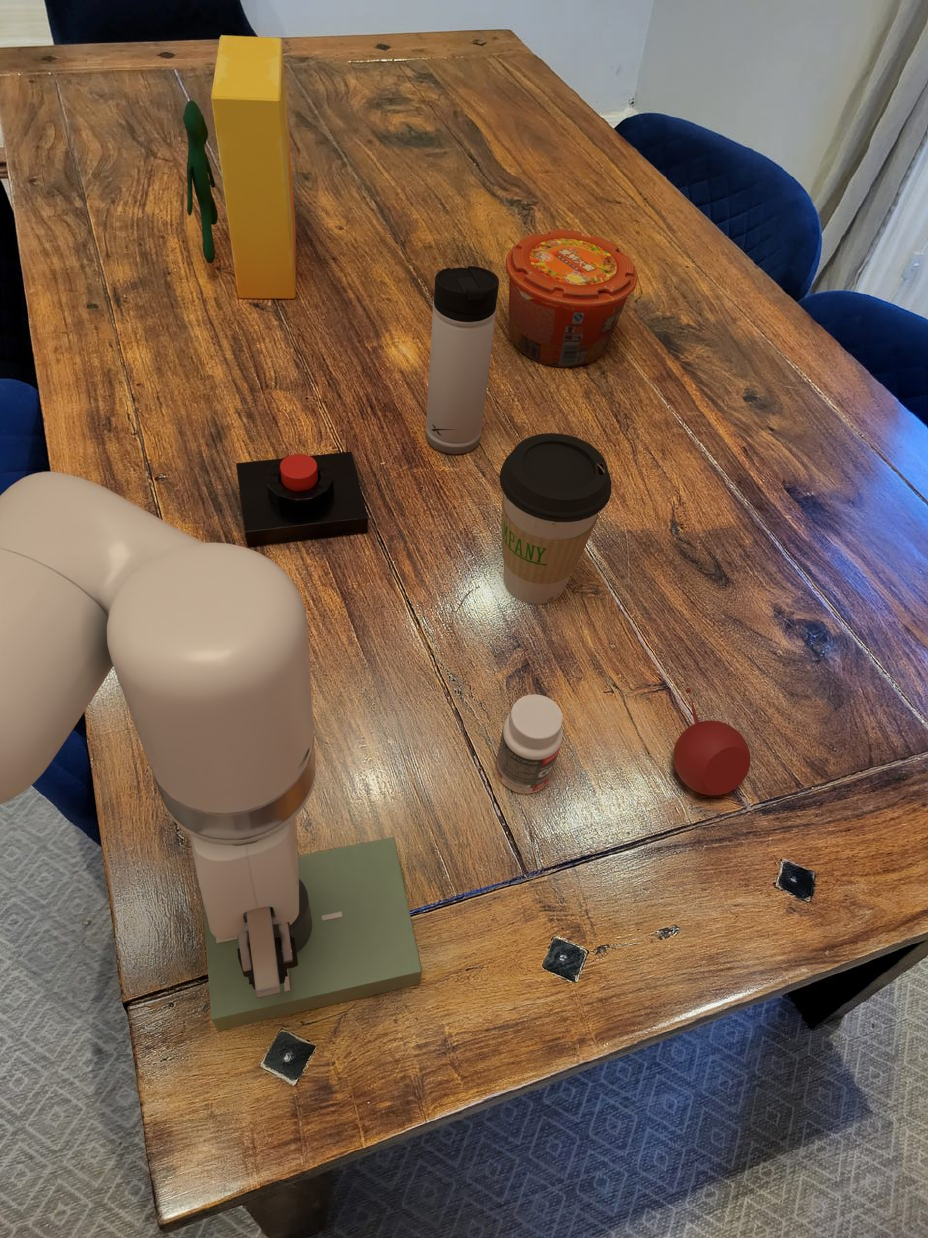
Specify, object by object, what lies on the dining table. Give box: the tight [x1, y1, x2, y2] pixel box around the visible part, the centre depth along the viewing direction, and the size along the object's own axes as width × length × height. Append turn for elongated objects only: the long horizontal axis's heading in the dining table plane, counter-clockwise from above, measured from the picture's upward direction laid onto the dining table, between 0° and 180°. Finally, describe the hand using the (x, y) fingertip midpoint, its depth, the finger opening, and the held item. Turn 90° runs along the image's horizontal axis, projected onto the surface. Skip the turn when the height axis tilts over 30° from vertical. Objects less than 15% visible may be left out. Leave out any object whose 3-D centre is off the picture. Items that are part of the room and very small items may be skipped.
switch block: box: [235, 451, 369, 548], centre depth 89 cm, size 12×10×4 cm
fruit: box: [673, 687, 751, 796], centre depth 73 cm, size 6×6×8 cm
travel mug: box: [424, 265, 500, 455], centre depth 91 cm, size 6×7×20 cm
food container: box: [505, 229, 639, 368], centre depth 108 cm, size 16×16×11 cm
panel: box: [202, 836, 423, 1032], centre depth 62 cm, size 14×10×3 cm
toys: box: [182, 34, 297, 300], centre depth 108 cm, size 18×12×24 cm
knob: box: [248, 879, 312, 952], centre depth 59 cm, size 4×4×5 cm
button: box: [280, 453, 318, 491], centre depth 87 cm, size 4×4×2 cm
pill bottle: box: [495, 693, 564, 795], centre depth 70 cm, size 5×5×8 cm
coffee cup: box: [499, 432, 613, 605], centre depth 81 cm, size 10×10×15 cm
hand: (262, 890), depth 56 cm, fingers open, 9 cm apart
